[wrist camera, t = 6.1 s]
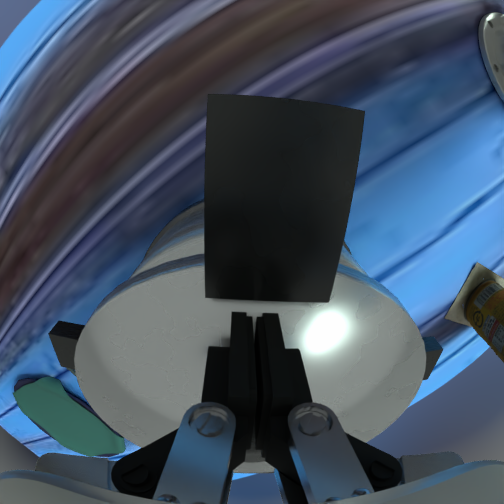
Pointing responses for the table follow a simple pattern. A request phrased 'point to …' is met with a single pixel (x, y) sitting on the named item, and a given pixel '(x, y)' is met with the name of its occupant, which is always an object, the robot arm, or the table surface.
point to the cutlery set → (66, 417)
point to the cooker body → (183, 245)
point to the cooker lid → (258, 283)
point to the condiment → (482, 307)
